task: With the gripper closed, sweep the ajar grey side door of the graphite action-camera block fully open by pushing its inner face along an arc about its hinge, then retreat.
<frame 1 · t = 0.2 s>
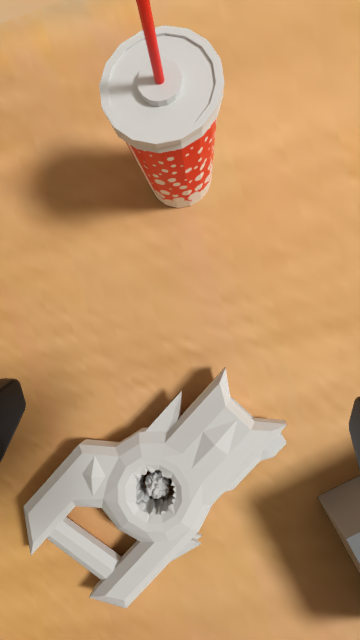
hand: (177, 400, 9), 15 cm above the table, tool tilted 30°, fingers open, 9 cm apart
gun: (152, 472, 24), on the table
beverage cup: (180, 179, 25), on the table
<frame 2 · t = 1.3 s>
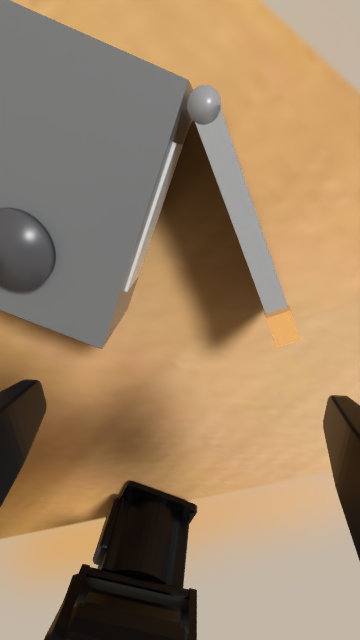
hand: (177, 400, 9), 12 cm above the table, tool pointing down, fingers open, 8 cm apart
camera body: (90, 191, 19), on the table
side door: (245, 222, 15), point 3 cm above the table, hinge at 45.0°
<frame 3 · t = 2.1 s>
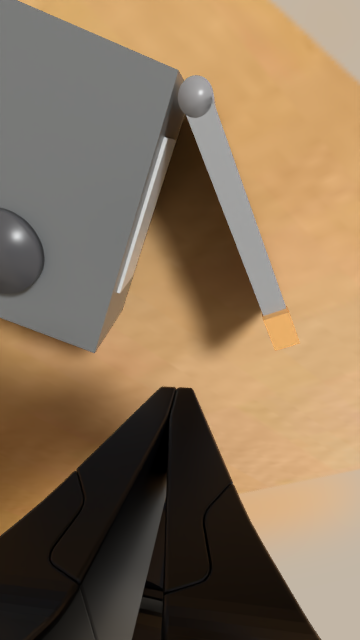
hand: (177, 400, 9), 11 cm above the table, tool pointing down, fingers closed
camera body: (81, 190, 18), on the table
side door: (241, 220, 15), point 3 cm above the table, hinge at 45.0°
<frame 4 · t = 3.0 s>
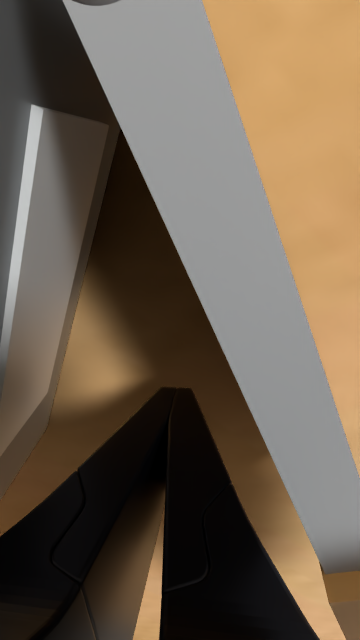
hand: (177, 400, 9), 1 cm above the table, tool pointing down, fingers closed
side door: (268, 323, 6), point 3 cm above the table, hinge at 45.0°, touching gripper
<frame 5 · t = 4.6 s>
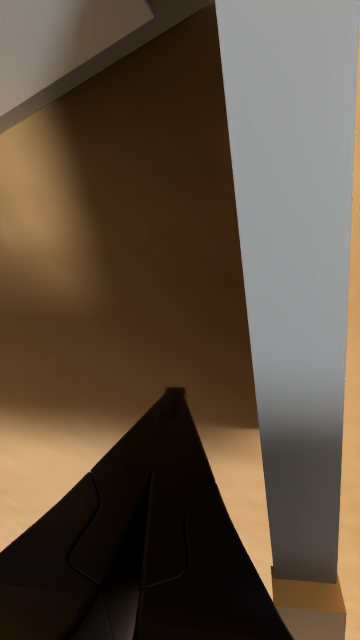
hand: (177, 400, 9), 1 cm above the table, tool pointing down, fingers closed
side door: (281, 328, 6), point 3 cm above the table, hinge at 77.1°, touching gripper
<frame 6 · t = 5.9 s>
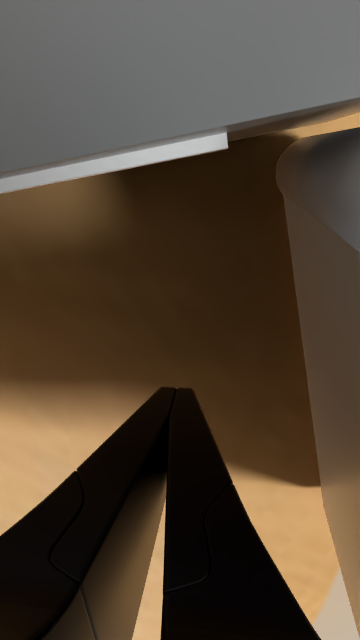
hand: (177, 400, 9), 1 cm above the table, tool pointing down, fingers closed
side door: (359, 440, 6), point 3 cm above the table, hinge at 95.0°
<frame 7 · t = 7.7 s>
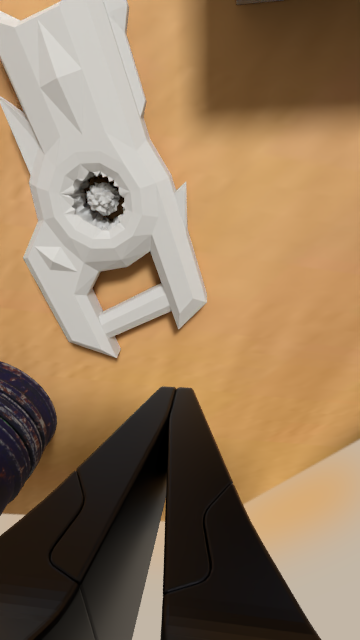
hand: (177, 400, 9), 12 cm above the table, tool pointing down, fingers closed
dark blue cylinder: (0, 406, 27), on the table
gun: (105, 203, 19), on the table
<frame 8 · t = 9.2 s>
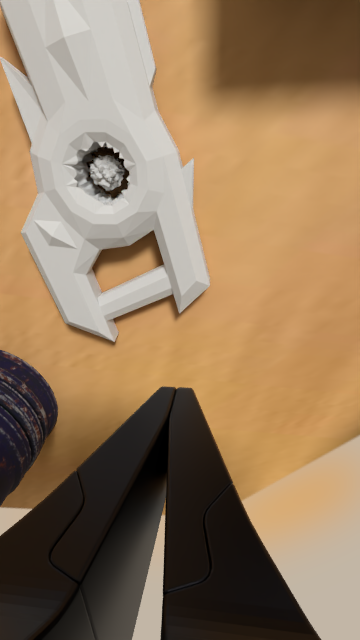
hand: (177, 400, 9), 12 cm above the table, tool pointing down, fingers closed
dark blue cylinder: (0, 397, 27), on the table
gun: (108, 180, 19), on the table
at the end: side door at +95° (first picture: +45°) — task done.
